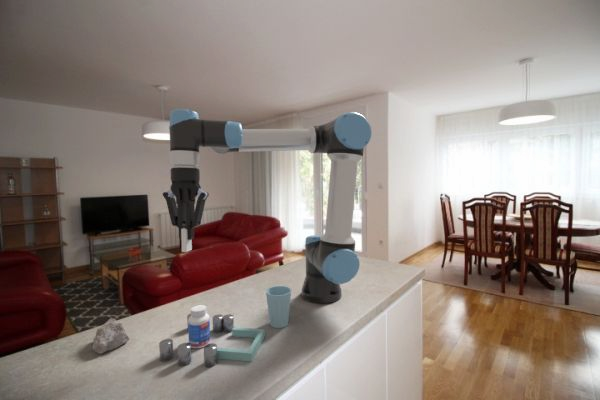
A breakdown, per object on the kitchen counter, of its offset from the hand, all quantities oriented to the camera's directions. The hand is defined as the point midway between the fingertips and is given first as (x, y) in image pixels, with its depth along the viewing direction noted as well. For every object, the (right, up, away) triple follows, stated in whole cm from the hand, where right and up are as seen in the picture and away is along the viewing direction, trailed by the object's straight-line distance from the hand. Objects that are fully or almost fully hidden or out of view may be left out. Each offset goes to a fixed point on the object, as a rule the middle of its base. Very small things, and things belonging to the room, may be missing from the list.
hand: (186, 250), depth 79 cm
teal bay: (+16, -24, -6) cm, 30 cm away
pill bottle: (+5, -25, -4) cm, 25 cm away
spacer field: (+5, -24, -4) cm, 25 cm away
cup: (+26, -24, +6) cm, 36 cm away
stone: (-19, -25, -3) cm, 32 cm away
